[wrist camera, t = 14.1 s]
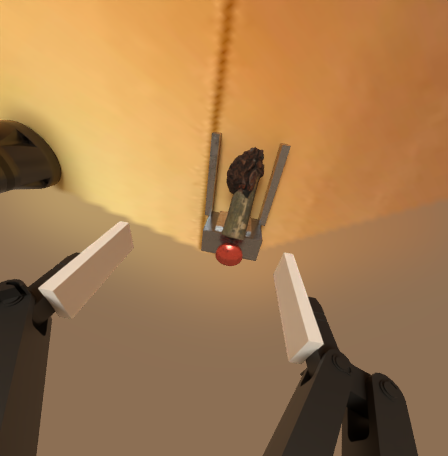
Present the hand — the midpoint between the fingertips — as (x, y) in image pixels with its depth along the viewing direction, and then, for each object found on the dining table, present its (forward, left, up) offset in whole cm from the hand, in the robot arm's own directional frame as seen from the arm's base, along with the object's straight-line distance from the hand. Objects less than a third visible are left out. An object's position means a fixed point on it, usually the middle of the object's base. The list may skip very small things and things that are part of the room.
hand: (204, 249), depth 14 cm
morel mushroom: (+3, -4, -23) cm, 24 cm away
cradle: (+3, -5, -28) cm, 28 cm away
